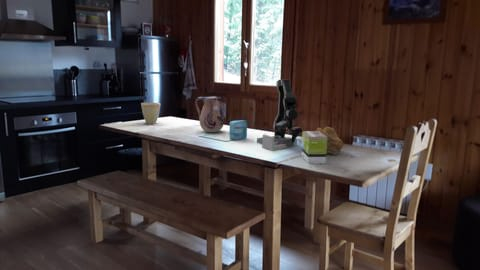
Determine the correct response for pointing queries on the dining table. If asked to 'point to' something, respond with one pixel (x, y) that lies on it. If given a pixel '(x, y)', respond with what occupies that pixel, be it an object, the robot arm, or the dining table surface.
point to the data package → (238, 130)
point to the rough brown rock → (332, 140)
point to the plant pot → (150, 112)
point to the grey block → (271, 143)
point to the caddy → (287, 141)
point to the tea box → (314, 146)
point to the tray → (260, 140)
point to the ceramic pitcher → (210, 114)
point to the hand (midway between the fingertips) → (287, 141)
